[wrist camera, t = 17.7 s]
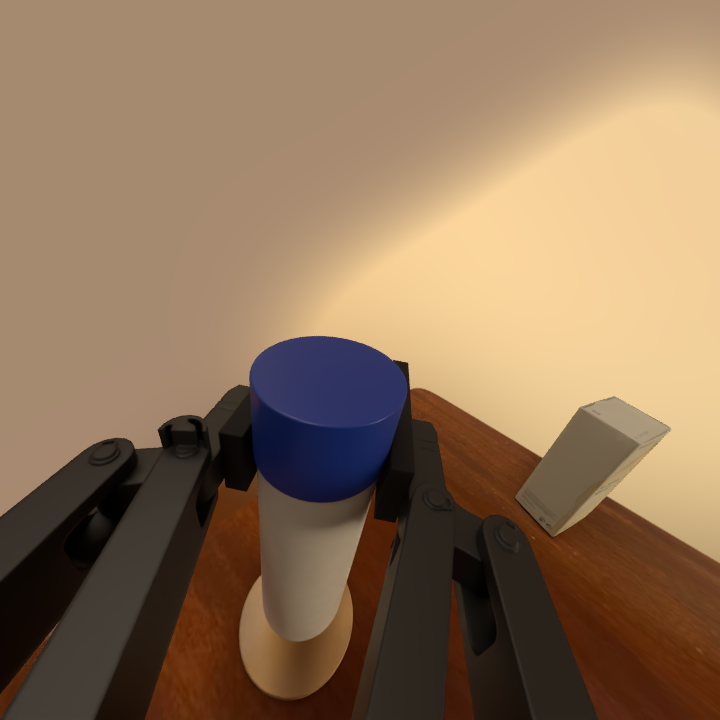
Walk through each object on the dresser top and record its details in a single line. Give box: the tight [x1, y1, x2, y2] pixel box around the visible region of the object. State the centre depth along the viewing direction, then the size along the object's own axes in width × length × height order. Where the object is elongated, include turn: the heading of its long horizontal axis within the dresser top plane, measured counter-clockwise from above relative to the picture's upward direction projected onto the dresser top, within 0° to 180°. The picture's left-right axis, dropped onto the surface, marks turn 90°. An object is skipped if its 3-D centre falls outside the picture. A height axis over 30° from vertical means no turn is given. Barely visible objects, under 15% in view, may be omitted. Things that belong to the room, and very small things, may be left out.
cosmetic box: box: [515, 397, 671, 537], centre depth 25 cm, size 6×4×12 cm
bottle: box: [249, 336, 407, 641], centre depth 12 cm, size 5×5×15 cm
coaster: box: [239, 575, 353, 700], centre depth 18 cm, size 7×7×1 cm
